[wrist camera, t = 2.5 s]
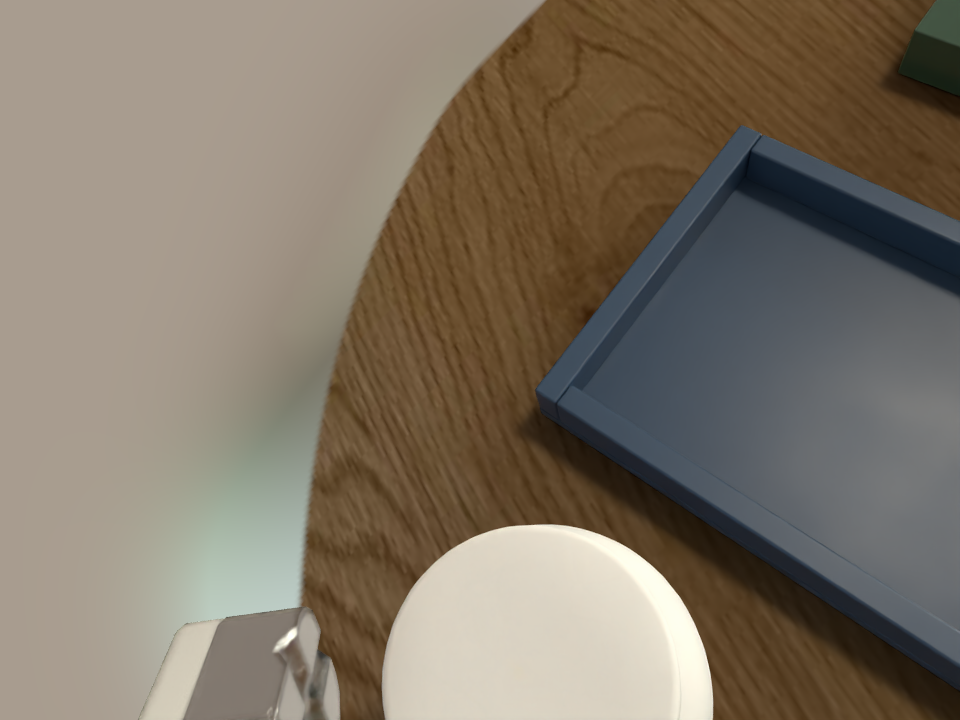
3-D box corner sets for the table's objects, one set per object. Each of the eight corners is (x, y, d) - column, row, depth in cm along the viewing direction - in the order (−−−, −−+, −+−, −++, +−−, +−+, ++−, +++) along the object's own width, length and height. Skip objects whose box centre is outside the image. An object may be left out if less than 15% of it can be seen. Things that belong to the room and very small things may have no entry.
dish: (540, 413, 26) (533, 389, 24) (734, 161, 29) (740, 123, 27) (1045, 748, 20) (1085, 750, 18) (1229, 390, 23) (1280, 361, 21)
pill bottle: (543, 544, 24) (478, 412, 14) (730, 668, 22) (812, 617, 12) (425, 725, 23) (256, 723, 12) (612, 879, 20) (591, 1026, 10)
